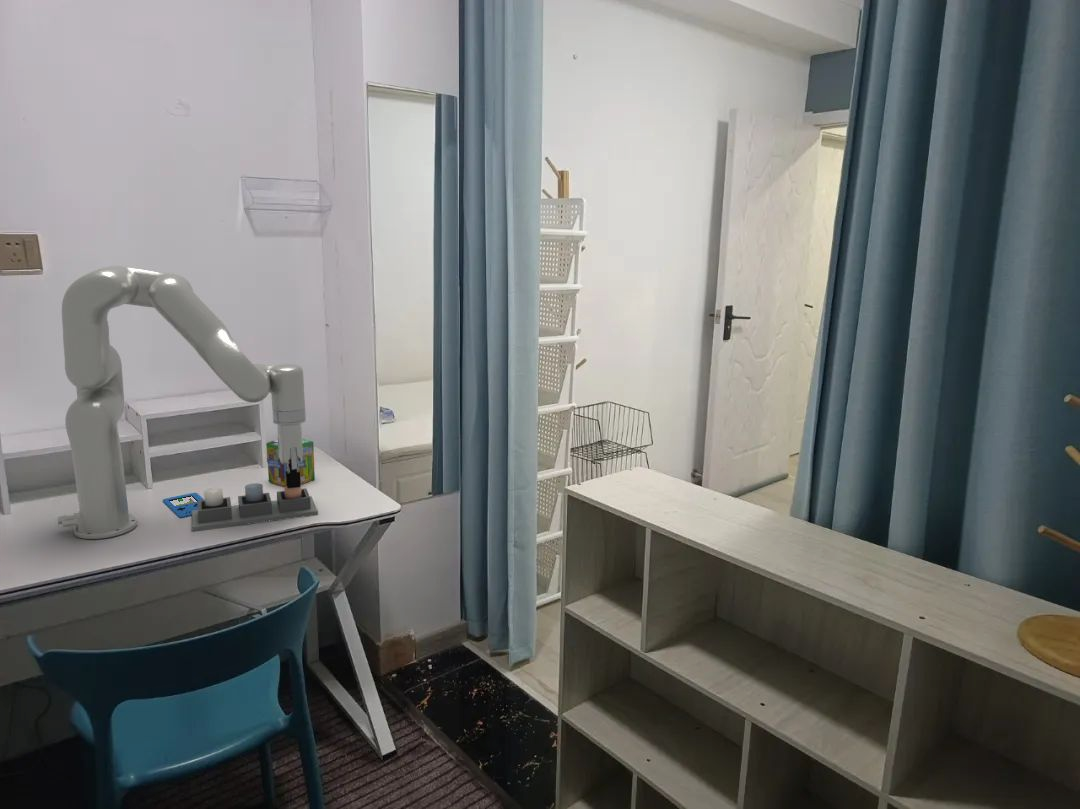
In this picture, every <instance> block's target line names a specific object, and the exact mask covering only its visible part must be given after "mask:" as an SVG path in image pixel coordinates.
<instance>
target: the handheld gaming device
mask: <svg viewBox="0 0 1080 809" xmlns="http://www.w3.org/2000/svg"><path fill="white" fill-rule="evenodd" d="M191 496H192V497H193V498H194V499H195V500H196V501H197V502H194V501H193V500H192V499H191V498H190V499H189V500H190V501H189V502H187V503H184V504H179V505H176V506H174V505H173V504H172V503H171V502H170V501H173V500H177V499H178V501H179V502H180V501H183V499H182V498H186V497H191ZM201 500H205V498H203V497H202V496H201V495H200V494H199V493H197V492H191V493H186V494H181V495H176V496H172V497H166V498H163V499H162V503H164V504H165V505H166V506H167V508H169V509H170V510H171V511H172V512H173V514H175V515H176V516H177V517H178V518H179V519H185V517H186V518H190V516H191V517H192V510H198V501H201Z"/></svg>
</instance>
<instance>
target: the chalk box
mask: <svg viewBox="0 0 1080 809" xmlns="http://www.w3.org/2000/svg"><path fill="white" fill-rule="evenodd" d="M265 445H266V456H267V458H266V459H267V460H266V461H267V472H268V473H267V474H268V475H267V476H268V483H269V482H270V483H269V484H274V485H278V486H282V487H285V486H287V485H286V463H285V465H283V464H282V463H281V461H280V458H279V454H278V439H276V440H271V441H269V442H266V444H265ZM302 450H303V461H302V462H301V463H300V462H299V471H300V482H301V485H304V484H307V483H310V482H312V481H315V479H316V478H315V454H314V453H315V452H314V451H315V450H314V441H312V440H308V439H305V438H303V437H302Z"/></svg>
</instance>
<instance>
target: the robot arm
mask: <svg viewBox="0 0 1080 809" xmlns="http://www.w3.org/2000/svg"><path fill="white" fill-rule="evenodd" d="M61 302H62V303H61V322H62V324H61V325H62V341H63V342H62V343H63V351H64V352H63V356H64V371H65V375H66V377H67V379H68V381H69V382H70V383H71V384H72V385H73V386H74V387H76V388H75V390H76V399H75V400H74V401H72V403H71V404H70V405H69V407H68V408H67V410H66V414H65V419H64V420H65V424H64V425H65V431H66V434H67V438H68V441H69V446H70V449H71V450H70V452H71V456H72V465H73V471H74V479H75V488H76V495H77V501H78V502H77V503H78V510H79V511H78V512H75V513H74V514H72V515H68V514H67V515H66V514H65V515H58V516H57V526H59V525H60V526H61V525H62V527H63V528H65V527H70V526H71V527H72V526H73V534H74V536H75V537H76V538H77V537H78V538H80V539H84V540H85V539H86V540H97V539H98V540H99V539H107V538H112V537H113V538H114V537H117V536H120V535H123V534H126V533H128V532H130V531H132V530H134V528H136V527H137V525H138V518H137V517H136V516H134V515H132V514H130V513H129V507H128V506H129V505H128V496H127V487H126V478H125V469H124V461H123V452H122V445H121V440H120V436H119V431H118V430H119V429H118V423H119V421H120V419H121V418H122V416H123V415H124V411H125V395H124V394H125V393H124V379H123V366H122V360H121V357H120V354H119V352H118V351H117V350H116V349H115V348H114V347H113V346H112V345H111V344H110V327H109V322H108V313H109V312H110V311H111V310H112V309H113V308H118V307H120V306H122V305H131V306H139V307H145V308H154V309H155V310H156V311H157V312H158V313H159V314H160V315H161V316H162V318H164V320H166V321H167V322H168V323H169V324H170V325H171V327H172V328H174V329H175V331H176V332H177V333H179V334H180V336H181V337H182V338H183V339H184V340H185V341H186V342H187V343H189V345H190V346H191V348H193V349H194V351H195V352H196V353H197V354H198V355H199V357H200V358H201V359H202V360H203V361H204V362H205V364H207V366H208V367H209V368H210V370H212V371H213V373H214V374H215V375H216V376H217V377H218V378H219V379H220V381H222V383H224V384H225V385H226V386H227V387H228V388H229V389H230V390H231V391H232V392H233V393H234V395H236V397H238V398H239V399H240V400H242V401H245V402H247V403H252V404H253V403H259V402H261V401H263V400H264V399H265V398H267V397H268V395H269V393H270V394H271V407H272V408H271V409H272V410H271V411H272V422H273V424H275V425H277V440H278V454H279V458H280V461H281V463H282V464H283V465H285V463H286V485H287V488H296V487H300V486H301V487H302V484H301V482H300V471H299V462H300V463H301V462H302V461H303V450H302V438H303V435H302V434H303V433H302V424H303V423H305V422H306V420H307V418H306V403H305V402H306V401H305V400H306V399H305V383H304V370H303V368H302V367H301V366H300V365H298V364H294V363H284V364H277V365H273V364H271V365H270V364H262V363H261V364H260V363H252V361H250V359H249V358H248V357H247V356H246V355H245V354H244V352H243V351H242V350H241V349H240V348H239V346H238V345H237V344H236V342H235V341H234V339H233V337H232V335H231V333H230V331H229V329H228V327H227V326H226V325H225V324H224V322H223V321H222V320H221V319H220V318H219V317H218V316H217V315H216V314H215V313H214V311H212V310H211V309H210V308H209V307H208V306H207V305H206V303H204V302H203V301H202V299H200V297H199V296H198V295H197V294H196V293H195V292H194V290H193V287H192V285H191V283H190V281H188V280H187V279H186V278H185V277H183V276H181V275H179V274H175V273H168V272H161V271H155V270H154V271H153V270H146V269H141V268H135V267H127V266H120V265H110V266H107V267H106V266H105V267H102V268H98V269H95V270H93V271H91V272H89V273H86V274H84V275H82V276H80V277H79V278H77V279H76V280H74V281H73V282H72V283H71V284H70V286H68V288H67V289H66V291H65V293H64V295H63V298H62V301H61Z"/></svg>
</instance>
